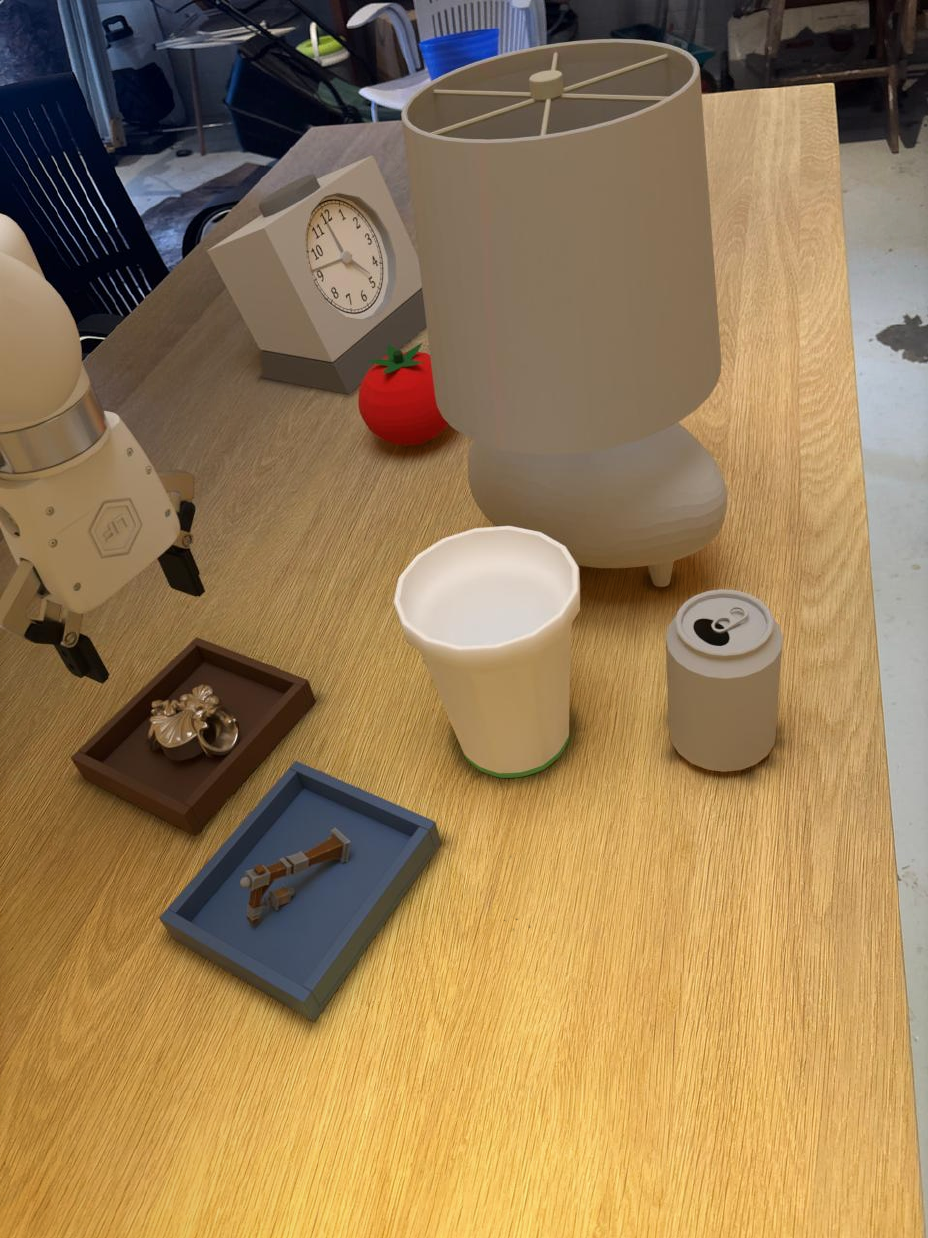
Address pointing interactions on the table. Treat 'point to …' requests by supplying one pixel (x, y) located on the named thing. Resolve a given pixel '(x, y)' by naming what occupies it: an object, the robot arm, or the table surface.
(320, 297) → the alarm clock
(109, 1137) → the table surface
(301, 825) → the blue tray
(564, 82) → the table lamp
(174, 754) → the ornament
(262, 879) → the wooden post with brackets
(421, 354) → the tomato
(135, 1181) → the table surface
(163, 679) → the walnut tray
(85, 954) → the table surface
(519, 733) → the cup
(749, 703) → the can
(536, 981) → the table surface
